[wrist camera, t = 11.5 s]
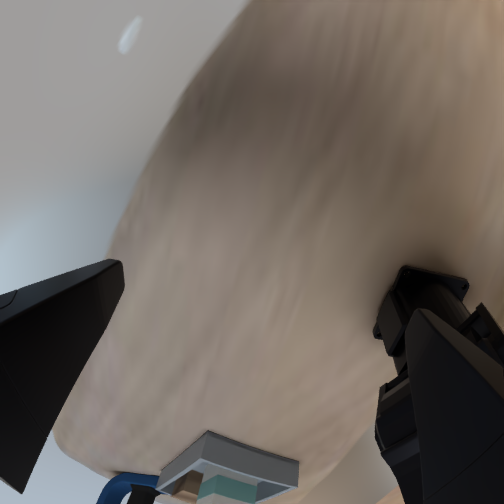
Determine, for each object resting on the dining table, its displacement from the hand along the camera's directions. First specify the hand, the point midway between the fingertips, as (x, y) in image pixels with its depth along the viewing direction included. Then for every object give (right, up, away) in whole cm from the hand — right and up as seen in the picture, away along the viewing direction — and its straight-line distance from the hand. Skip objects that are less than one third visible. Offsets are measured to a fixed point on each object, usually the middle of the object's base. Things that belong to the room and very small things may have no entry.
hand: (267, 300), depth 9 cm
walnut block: (-8, -35, +31) cm, 47 cm away
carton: (-3, -28, +27) cm, 39 cm away
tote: (-5, -30, +29) cm, 42 cm away
